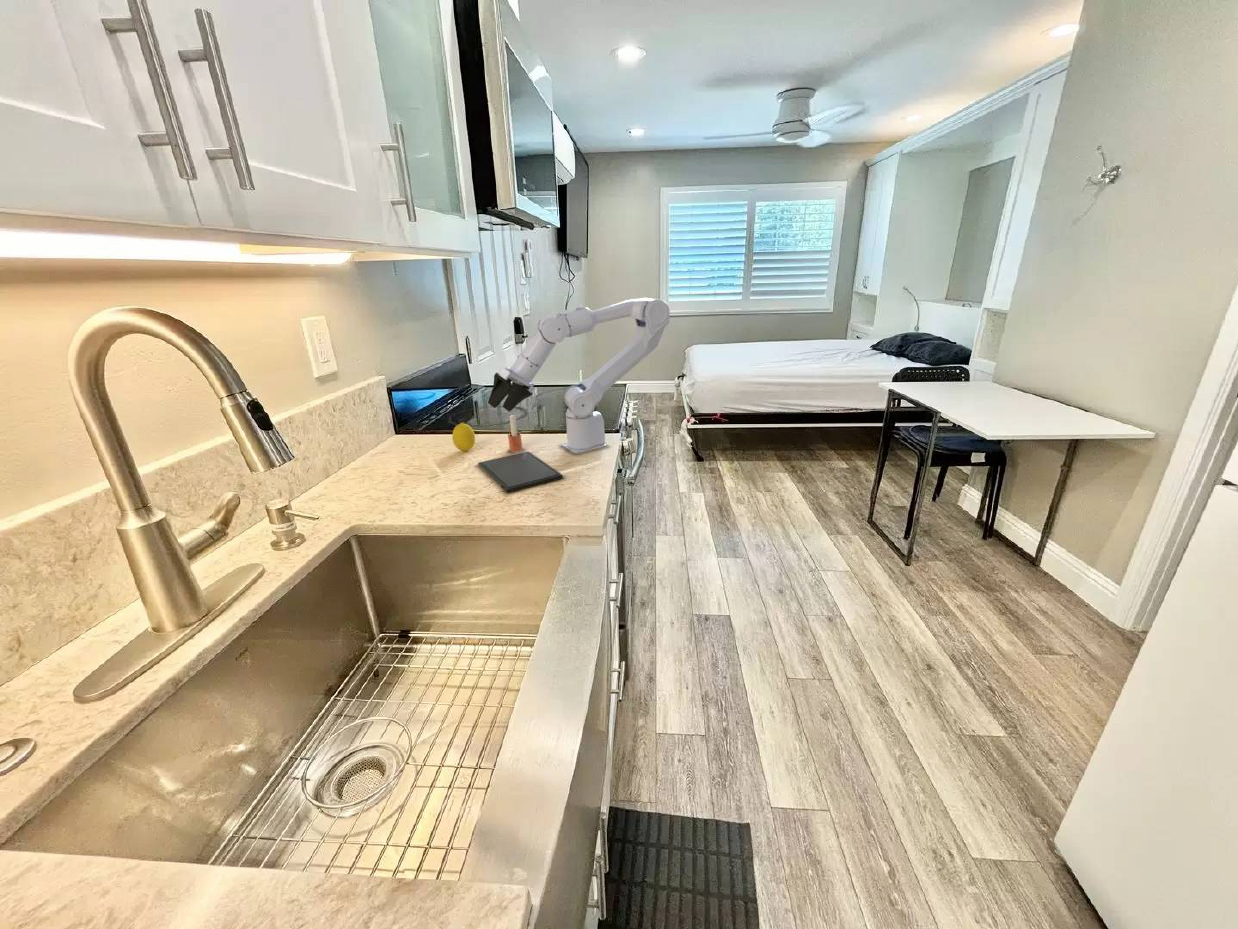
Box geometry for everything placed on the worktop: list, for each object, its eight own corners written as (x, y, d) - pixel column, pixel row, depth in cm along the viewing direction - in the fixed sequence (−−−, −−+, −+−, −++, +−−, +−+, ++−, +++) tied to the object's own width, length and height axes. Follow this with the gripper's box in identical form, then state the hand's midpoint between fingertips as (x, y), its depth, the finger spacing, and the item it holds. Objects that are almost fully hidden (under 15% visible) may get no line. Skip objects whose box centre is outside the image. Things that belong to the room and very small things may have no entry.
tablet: (528, 454, 125) (528, 450, 124) (562, 478, 110) (562, 474, 109) (478, 466, 118) (478, 462, 118) (507, 493, 103) (507, 489, 103)
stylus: (517, 447, 128) (513, 414, 125) (519, 449, 127) (516, 415, 124) (512, 448, 127) (508, 415, 124) (514, 450, 126) (510, 416, 123)
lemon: (470, 456, 124) (466, 426, 121) (451, 455, 125) (446, 425, 122) (480, 449, 129) (476, 420, 126) (461, 448, 130) (457, 419, 127)
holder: (519, 447, 130) (517, 431, 128) (524, 451, 127) (522, 434, 125) (508, 450, 128) (506, 434, 126) (512, 453, 125) (510, 437, 124)
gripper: (530, 358, 125) (500, 401, 127) (504, 344, 111) (471, 393, 112) (550, 373, 124) (520, 417, 125) (527, 361, 109) (494, 411, 111)
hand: (498, 407), depth 119 cm, fingers open, 7 cm apart
